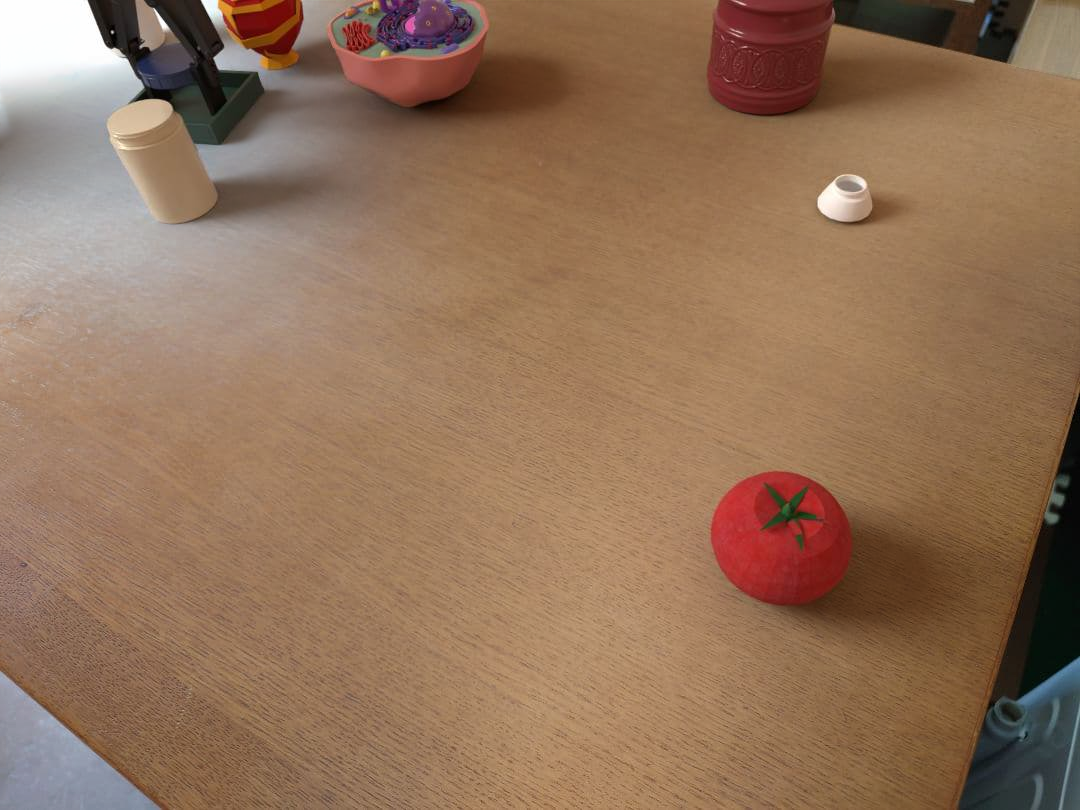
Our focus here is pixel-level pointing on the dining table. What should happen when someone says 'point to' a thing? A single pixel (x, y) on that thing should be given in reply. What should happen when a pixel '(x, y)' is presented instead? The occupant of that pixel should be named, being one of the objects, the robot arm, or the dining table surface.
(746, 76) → the kitchen canister
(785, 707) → the dining table surface
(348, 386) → the dining table surface
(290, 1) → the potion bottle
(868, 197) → the lidless jar
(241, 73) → the lid tray
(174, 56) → the jam lid
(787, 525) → the tomato
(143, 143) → the jam jar
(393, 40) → the cell model
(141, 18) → the milk bottle
